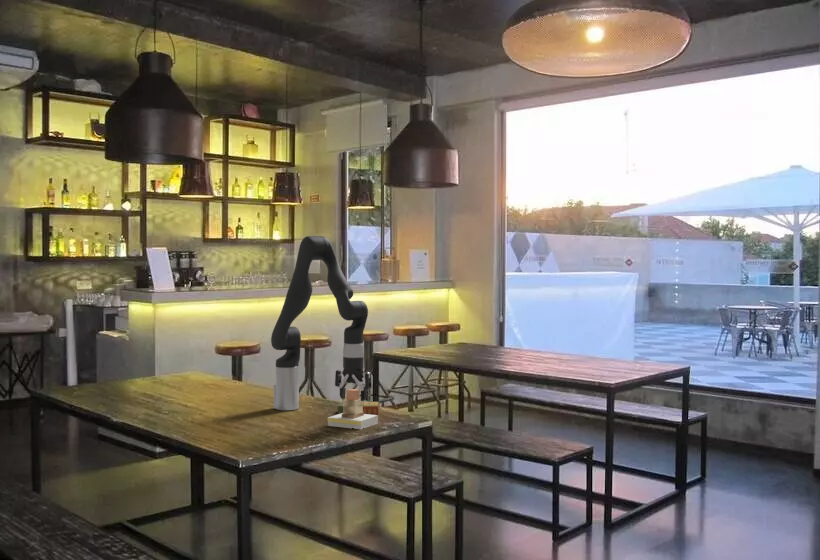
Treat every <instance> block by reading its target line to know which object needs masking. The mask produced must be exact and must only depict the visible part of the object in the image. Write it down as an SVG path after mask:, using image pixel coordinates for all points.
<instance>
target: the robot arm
mask: <svg viewBox="0 0 820 560" xmlns="http://www.w3.org/2000/svg"><path fill="white" fill-rule="evenodd" d="M313 261H322V262H323V263H324V264H325V265H326V267H327V276H326V277H327V280H326V281H327V284H328V285H327V286H328V288H329V290H330V291H331V293H332V295H333V297H334V298H335V302H336V306H337V310H338V314H339V316H340V317H341V318H342V319H343V320H345V321H348V322H349V321H352V322H351V325H350V326H347V327H345V328H344V331H343V350H342V368H343V369H337V370H336V371H335V378H334V386H335V387H337V388H339V397H340V399H342V400H345V399H346V392H347V389H346V386H347V385H348V384H353V385H354V384H355V385H357V386H358V387H359V388H360V389H359V390H360V399H361V401H363V402H366V401H365V400H366V399H367V392H368V390H370V389H372V388H373V386H372V372H369V371H368V372H364V365H365V364H364V363H365V362H364V361H365V359H364V356H365V354H364V353H365V350H364V349H365V348H364V331H365V327H366V323H367V320H368V314H369V310H368V306H367V304H366V302H365V301H363V300H351V299H352V297H353V296H354V290H353V288H352V286H351V285H350V283H349V282H348V280H347V278H346V276H345V275H344V273H343V270H342V269H341V265H340V264H339V261H338V258H337V255H336V252H335V249H334V247H333V245H332V243H331V241H330V240H329V238H328V237H326V236H323V235H309V236H305V237H303V238H302V240H301V242H300V244H299V247H298V253H297V256H296V263H295V267H294V270H293V274H292V277H291V281H290V284H289V286H288V288H287V292H286V296H285V299H284V302H283V305H282V308H281V312H280V314H279V316H278V319H277V321H276V324H275V325H274V327H273V330H272V332H271V337H270V341H271V342H270V343H271V346H272V348H273V349H274V350H276V351H285V353H284V354H283V355H282V356H280V357H279V358H277V359H275V384H273V409H275V410H277V411H295V410H298V409H299V407H300V406H299V404H300V401H299V398H300V397H299V396H300V395H299V393H300V392H299V391H300V388H299V387H300V385H299V382H300V380H299V377H300V376H299V374H300V373H299V369H300V367H299V365H300V364H299V363H300V359H301V347H302V346H301V345H302V340H301V339H302V337H301V332H300V330H299V328H298V327H296V326H291V325H292V324H293V322H294V321H295V320H296V319H297V318H298V317H299V316H300V315H301V314H302V313H303V311H305V310H306V308H307V307H308V305H309V302H310V300H311V296H312V295H313V284H312V282H311V278H310V275H309V274H310V273H309V272H310V268H311V267H310V266H311V264H312V262H313ZM342 377H344V378H343V379H342ZM363 378H364V379H363Z"/></svg>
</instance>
